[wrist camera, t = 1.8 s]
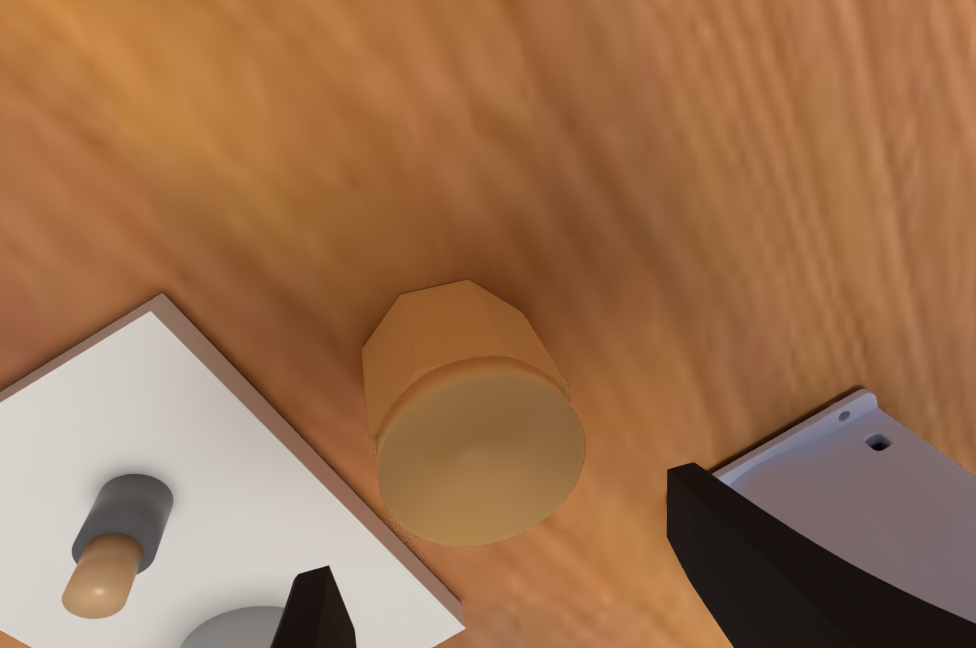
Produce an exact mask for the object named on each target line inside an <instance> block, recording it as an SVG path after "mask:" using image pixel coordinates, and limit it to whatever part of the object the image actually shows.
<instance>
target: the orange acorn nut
mask: <svg viewBox="0 0 976 648" xmlns="http://www.w3.org/2000/svg"><path fill="white" fill-rule="evenodd" d="M362 360H363V374H364V387H365V401H366V415H367V428H368V437H369V439H370V443H371V446H372V449H373V452H374V456H375V459H376V462H377V471H378V483H379V489H380V494H381V497H382V500H383V502H384V505H385V507H386V509H387V510H388V512H389V513H390V515H391V516H392V517H393V518H394V520H395V521H396V522H397V523H398V524H399V525H400V526H402V527H403V528H404V529H405V530H407V531H408V532H410V533H412V534H413V535H415V536H417V537H419V538H421V539H424V540H426V541H429V542H433V543H436V544H441V545H447V546H457V547H469V546H480V545H487V544H491V543H496V542H500V541H503V540H506V539H509V538H512V537H514V536H516V535H518V534H521V533H523V532H525V531H527V530H528V529H530V528H532V527H534V526H535V525H537V524H538V523H540V522H541V521H543V520H544V519H545V518H547V517H548V516H549V515H550V514H551V513H553V512H554V511H555V510H556V509H557V508H558V507H559V506H560V505H561V504H562V503H563V501H564V500H565V499H566V498H567V496H568V495H569V494H570V492H571V491H572V489H573V487H574V486H575V484H576V482H577V480H578V478H579V476H580V473H581V470H582V467H583V464H584V458H585V436H584V431H583V428H582V425H581V422H580V420H579V418H578V416H577V414H576V413H575V411H574V409H573V408H572V406H571V404H570V394H569V385H568V383H567V381H566V380H565V378H564V377H563V375H562V374H561V372H560V370H559V369H558V367H557V366H556V364H555V363H554V361H553V360H552V358H551V356H550V355H549V353H548V352H547V350H546V349H545V347H544V346H543V344H542V342H541V341H540V339H539V338H538V336H537V335H536V333H535V331H534V330H533V328H532V327H531V325H530V324H529V322H528V321H527V319H526V317H525V316H524V314H523V313H522V311H520V310H518V309H516V308H515V307H513V306H512V305H510V304H508V303H507V302H505V301H503V300H502V299H500V298H498V297H497V296H495V295H494V294H492V293H490V292H489V291H487V290H485V289H484V288H482V287H480V286H479V285H477V284H475V283H474V282H472V281H471V280H470V279H467V280H463V281H459V282H454V283H450V284H445V285H441V286H436V287H432V288H427V289H423V290H418V291H414V292H409V293H405V294H400V295H399V297H398V298H397V299H396V301H395V302H394V304H393V305H392V307H391V308H390V309H389V311H388V312H387V314H386V315H385V317H384V318H383V320H382V321H381V322H380V324H379V325H378V327H377V328H376V330H375V331H374V332H373V334H372V335H371V337H370V338H369V340H368V341H367V343H366V344H365V345H364V347H363V348H362Z"/></svg>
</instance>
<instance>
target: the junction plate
mask: <svg viewBox="0 0 976 648" xmlns="http://www.w3.org/2000/svg"><path fill="white" fill-rule="evenodd" d="M328 565H329V566H330V569H331V571H332V574H333V576H334V579H335V581H336V584H337V586H338V589H339V591H340V594H341V596H342V599H343V601H344V604H345V606H346V609H347V611H348V614H349V616H350V619H351V621H352V624H353V626H354V629H355V636H356V646H357V648H432V647H434V646H436V645H437V644H439V643H441V642H443V641H444V640H446V639H448V638H450V637H451V636H453V635H455V634H457V633H458V632H460V631H462V630H464V629H465V628H466V627H465V622H464V618H463V613H462V608H461V603H460V602H459V601H458V600H457V599H456V598H455V597H454V596H453V595H452V594H451V592H450V591H449V590H448V589H447V588H446V587H445V586H444V585H443V584H442V583H441V582H440V581H439V580H438V579H437V578H436V577H435V576H434V575H433V574H432V573H431V572H430V571H429V570H428V569H427V567H426V566H425V565H424V564H423V563H422V562H421V561H420V560H419V559H418V558H417V557H416V556H415V555H414V554H413V553H412V552H411V551H410V550H409V549H408V548H407V547H406V546H405V545H404V544H403V543H402V541H401V540H400V539H399V538H398V537H397V536H396V535H395V534H394V533H393V532H392V531H391V530H390V529H389V528H388V527H387V526H386V525H385V524H384V523H383V522H382V521H381V520H380V519H379V518H378V516H377V515H376V514H375V513H374V512H373V511H372V510H371V509H370V508H369V507H368V506H367V505H366V504H365V503H364V502H363V501H362V500H361V499H360V498H359V497H358V496H357V495H356V494H355V493H354V491H353V490H352V489H351V488H350V487H349V486H348V485H347V484H346V483H345V482H344V481H343V480H342V479H341V478H340V477H339V476H338V475H337V474H336V473H335V472H334V471H333V470H332V469H331V468H330V466H329V465H328V464H327V463H326V462H325V461H324V460H323V459H322V458H321V457H320V456H319V455H318V454H317V453H316V452H315V451H314V450H313V449H312V448H311V447H310V446H309V445H308V444H307V443H306V442H305V440H304V439H303V438H302V437H301V436H300V435H299V434H298V433H297V432H296V431H295V430H294V429H293V428H292V427H291V426H290V425H289V424H288V423H287V422H286V421H285V420H284V419H283V418H282V417H281V415H280V414H279V413H278V412H277V411H276V410H275V409H274V408H273V407H272V406H271V405H270V404H269V403H268V402H267V401H266V400H265V399H264V398H263V397H262V396H261V395H260V394H259V393H258V392H257V390H256V389H255V388H254V387H253V386H252V385H251V384H250V383H249V382H248V381H247V380H246V379H245V378H244V377H243V376H242V375H241V374H240V373H239V372H238V371H237V370H236V369H235V368H234V367H233V365H232V364H231V363H230V362H229V361H228V360H227V359H226V358H225V357H224V356H223V355H222V354H221V353H220V352H219V351H218V350H217V349H216V348H215V347H214V346H213V345H212V344H211V343H210V342H209V341H208V339H207V338H206V337H205V336H204V335H203V334H202V333H201V332H200V331H199V330H198V329H197V328H196V327H195V326H194V325H193V324H192V323H191V322H190V321H189V320H188V319H187V318H186V317H185V316H184V314H183V313H182V312H181V311H180V310H179V309H178V308H177V307H176V306H175V305H174V304H173V303H172V302H171V301H170V300H169V299H168V298H167V297H166V296H165V295H164V294H163V293H161V294H159V295H158V296H156V297H154V298H153V299H151V300H150V301H148V302H146V303H145V304H143V305H141V306H140V307H138V308H136V309H135V310H133V311H132V312H130V313H128V314H127V315H125V316H123V317H122V318H120V319H118V320H117V321H115V322H114V323H112V324H110V325H109V326H107V327H105V328H104V329H102V330H101V331H99V332H97V333H96V334H94V335H92V336H91V337H89V338H87V339H86V340H84V341H83V342H81V343H79V344H78V345H76V346H74V347H73V348H71V349H69V350H68V351H66V352H65V353H63V354H61V355H60V356H58V357H56V358H55V359H53V360H52V361H50V362H48V363H47V364H45V365H43V366H42V367H40V368H38V369H37V370H35V371H34V372H32V373H30V374H29V375H27V376H25V377H24V378H22V379H20V380H19V381H17V382H16V383H14V384H12V385H11V386H9V387H7V388H6V389H4V390H3V391H1V392H0V630H1V631H3V632H5V633H6V634H8V635H10V636H12V637H14V638H15V639H17V640H19V641H21V642H23V643H25V644H26V645H28V646H30V647H32V648H270V646H271V644H272V641H273V638H274V636H275V633H276V630H277V628H278V625H279V622H280V619H281V617H282V614H283V611H284V608H285V605H286V602H287V599H288V596H289V593H290V590H291V587H292V584H293V581H294V579H295V577H296V576H297V575H298V574H300V573H303V572H307V571H310V570H314V569H317V568H321V567H324V566H328Z"/></svg>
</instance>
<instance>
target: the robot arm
mask: <svg viewBox="0 0 976 648" xmlns="http://www.w3.org/2000/svg"><path fill="white" fill-rule="evenodd" d="M667 538H668V540H669V542H670V544H671V546H672V548H673V550H674V552H675V554H676V556H677V558H678V560H679V562H680V564H681V566H682V568H683V569H684V571H685V573H686V575H687V577H688V579H689V581H690V582H691V584H692V586H693V587H694V589H695V590H696V592H697V593H698V595H699V596H700V598H701V599H702V601H703V602H704V604H705V605H706V607H707V608H708V610H709V611H710V613H711V614H712V616H713V617H714V619H715V620H716V622H717V623H718V625H719V626H720V628H721V629H722V631H723V632H724V634H725V635H726V637H727V638H728V640H729V641H730V643H731V644H732V646H733V647H734V648H976V476H974V475H973V474H972V473H970V472H969V471H967V470H966V469H965V468H963V467H962V466H960V465H959V464H957V463H956V462H955V461H953V460H952V459H950V458H949V457H948V456H946V455H945V454H943V453H942V452H940V451H939V450H938V449H936V448H935V447H933V446H932V445H931V444H929V443H928V442H926V441H925V440H924V439H922V438H921V437H919V436H918V435H916V434H915V433H914V432H912V431H911V430H909V429H908V428H907V427H905V426H904V425H902V424H901V423H900V422H898V421H897V420H895V419H894V418H892V417H891V416H890V415H888V414H887V413H885V412H884V411H883V410H881V409H880V408H878V404H877V400H876V396H875V394H873V393H872V392H871V391H869V390H867V389H860V390H858V391H856V392H854V393H852V394H851V395H849V396H847V397H845V398H844V399H842V400H840V401H838V402H837V403H835V404H833V405H831V406H830V407H828V408H826V409H824V410H823V411H821V412H819V413H817V414H816V415H814V416H812V417H810V418H809V419H807V420H805V421H803V422H802V423H800V424H798V425H796V426H795V427H793V428H791V429H789V430H788V431H786V432H784V433H782V434H781V435H779V436H777V437H775V438H774V439H772V440H770V441H768V442H767V443H765V444H763V445H761V446H760V447H758V448H756V449H754V450H753V451H751V452H749V453H747V454H746V455H744V456H742V457H740V458H739V459H737V460H735V461H733V462H732V463H730V464H728V465H726V466H725V467H723V468H721V469H719V470H718V471H716V472H714V473H712V474H710V473H709V472H708V471H706V470H705V469H703V468H702V467H700V466H699V465H697V464H696V463H694V462H693V463H689V464H685V465H682V466H678V467H675V468H671V469H668V470H667ZM270 648H357V646H356V636H355V629H354V626H353V624H352V621H351V619H350V616H349V614H348V611H347V609H346V606H345V604H344V601H343V599H342V596H341V594H340V591H339V589H338V586H337V584H336V581H335V579H334V576H333V574H332V571H331V569H330V566H329V565H328V566H324V567H321V568H317V569H314V570H310V571H307V572H303V573H300V574H298V575H297V576H296V577H295V579H294V581H293V584H292V587H291V590H290V593H289V596H288V599H287V602H286V605H285V608H284V611H283V614H282V617H281V619H280V622H279V625H278V628H277V630H276V633H275V636H274V638H273V641H272V644H271V646H270Z"/></svg>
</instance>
